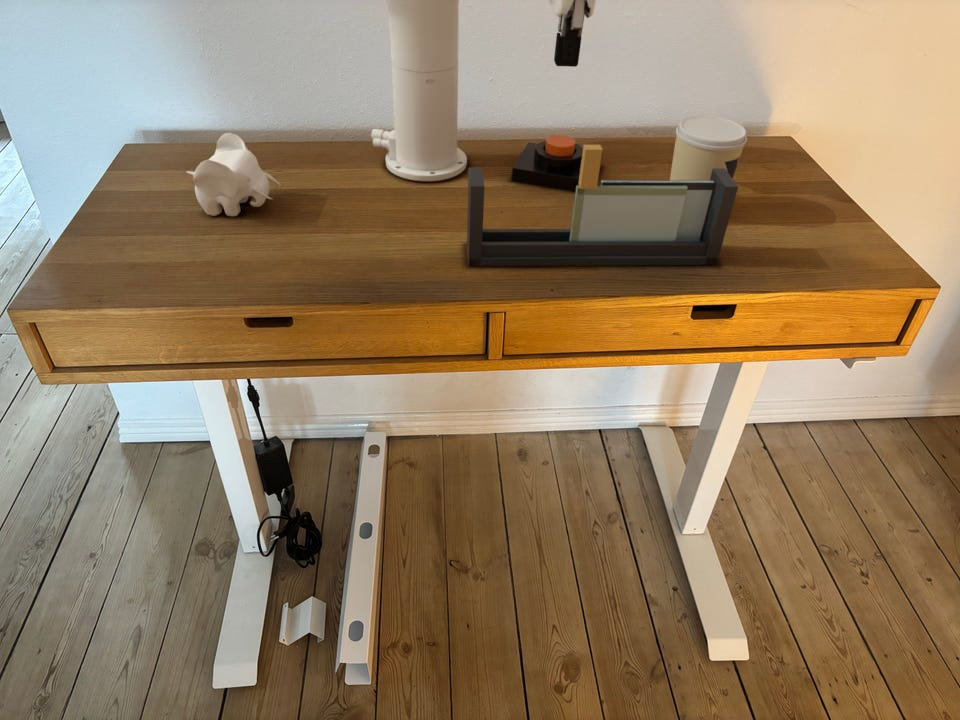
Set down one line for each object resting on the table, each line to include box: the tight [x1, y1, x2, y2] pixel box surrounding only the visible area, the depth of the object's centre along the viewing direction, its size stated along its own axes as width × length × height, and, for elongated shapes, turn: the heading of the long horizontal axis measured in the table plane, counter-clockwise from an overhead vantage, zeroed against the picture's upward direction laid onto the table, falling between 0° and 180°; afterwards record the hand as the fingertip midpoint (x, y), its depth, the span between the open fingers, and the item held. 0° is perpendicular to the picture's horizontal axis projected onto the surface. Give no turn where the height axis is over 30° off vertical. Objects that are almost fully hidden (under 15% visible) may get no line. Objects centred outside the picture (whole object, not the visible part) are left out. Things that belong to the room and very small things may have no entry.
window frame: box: [466, 167, 739, 267], centre depth 92 cm, size 32×5×11 cm, turn 94°
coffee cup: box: [669, 114, 748, 181], centre depth 102 cm, size 9×9×12 cm
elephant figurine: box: [186, 132, 282, 217], centre depth 99 cm, size 10×12×9 cm
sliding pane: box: [569, 144, 688, 242], centre depth 90 cm, size 14×1×14 cm, turn 94°
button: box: [545, 134, 576, 157], centre depth 110 cm, size 4×4×2 cm
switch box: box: [511, 139, 604, 193], centre depth 112 cm, size 12×10×4 cm
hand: (565, 64), depth 104 cm, fingers closed
